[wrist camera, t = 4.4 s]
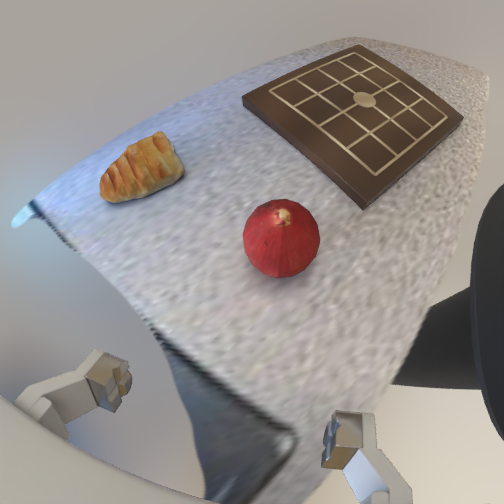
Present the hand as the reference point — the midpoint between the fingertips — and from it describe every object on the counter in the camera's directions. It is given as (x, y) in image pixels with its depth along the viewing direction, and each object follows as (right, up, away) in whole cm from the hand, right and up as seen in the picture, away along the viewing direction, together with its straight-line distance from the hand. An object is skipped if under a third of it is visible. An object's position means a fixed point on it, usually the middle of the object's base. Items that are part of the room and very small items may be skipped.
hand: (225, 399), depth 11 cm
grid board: (+14, +23, +22) cm, 35 cm away
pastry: (-10, +14, +21) cm, 27 cm away
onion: (+4, +5, +17) cm, 18 cm away
